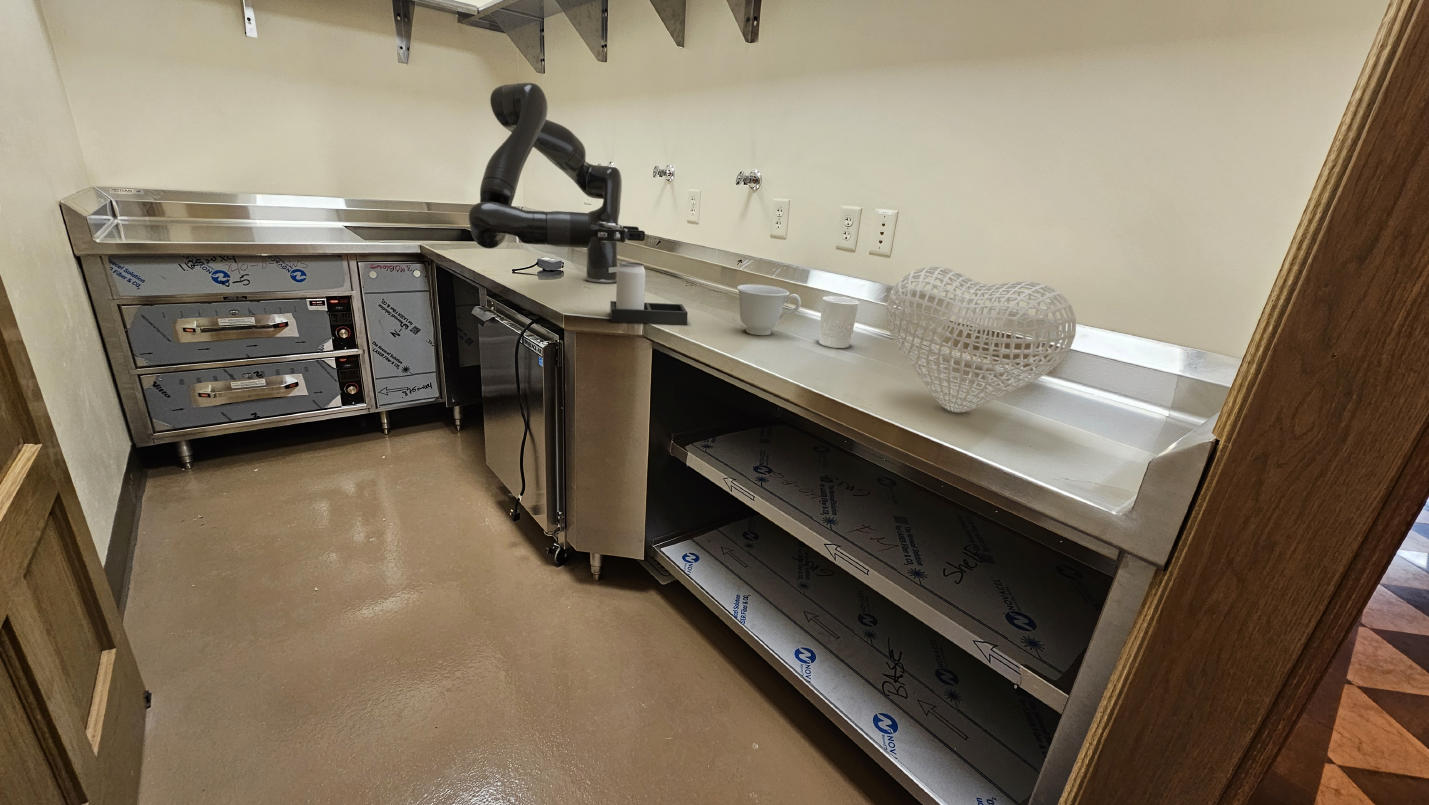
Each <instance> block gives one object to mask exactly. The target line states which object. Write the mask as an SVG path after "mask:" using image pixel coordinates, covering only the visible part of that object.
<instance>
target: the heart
mask: <svg viewBox="0 0 1429 805" xmlns="http://www.w3.org/2000/svg"><path fill="white" fill-rule="evenodd" d="M939 275H940V276H939ZM929 277H930V278H931V279H929V280H928V279H927V278H929ZM937 280H938V281H939V282H940V283H938V282H935V281H937ZM913 283H915V284H914V285H913ZM923 283H924V285H923ZM912 285H913V286H912ZM928 285H929V287H928V289H926V287H927V286H928ZM948 286H951V289H950V288H948ZM957 289H958V290H960V291H959V292H958V291H957ZM934 290H936V291H937V292H935V291H934ZM914 291H916V295H915V297H913V296H912V295H913V294H914ZM921 293H922V294H924V295H925V297H924V299H921V298H919V297H920V296H921ZM941 293H945V294H944V296H943V295H941ZM965 293H968V295H966V294H965ZM1015 294H1017V295H1015ZM1021 294H1022V295H1021ZM1038 294H1040V295H1038ZM952 295H953V297H952V298H953V299H950V297H951V296H952ZM973 295H974V296H973ZM929 297H933V298H934V300H933V302H929V301H928V299H929ZM960 299H961V300H960ZM938 300H942V301H943V303H942V305H941V306H938V305H937V303H938ZM959 300H960V302H959ZM979 301H981V302H979ZM986 301H989V303H987V304H985V303H986ZM1021 301H1022V302H1025V303H1026V305H1022V306H1021V305H1020V302H1021ZM910 302H913V305H912V307H910ZM995 302H996V303H995ZM1006 302H1007V304H1006ZM1010 302H1013V303H1012V304H1010ZM947 303H949V304H951V306H950V308H949V309H948V308H946V306H947ZM971 303H972V304H971ZM1041 303H1043V304H1044V305H1045V306H1046V307H1042V306H1040V305H1041ZM917 304H920V305H922V308H921V310H920V311H919V310H917ZM894 306H895V308H894ZM926 306H928V307H931V309H930V313H928V312H925V309H926ZM956 306H958V307H959V308H958V310H957V312H955V308H956ZM899 307H900V309H899ZM935 309H937V310H939V314H938V315H936V314H933V313H934V310H935ZM964 309H965V313H964V314H963V312H964ZM985 309H986V311H985ZM1029 309H1030V310H1035V314H1034V315H1033V314H1031V313H1030V312H1029ZM992 310H993V311H995V312H994V313H993V314H992ZM1012 310H1014V311H1015V316H1009V315H1010V313H1011V311H1012ZM1063 310H1064V312H1063ZM984 311H985V313H984ZM1001 311H1006V312H1005V313H1004V314H1003V315H1001ZM1019 311H1020V312H1019ZM899 313H900V314H899ZM905 313H906V317H905ZM943 313H946V314H947V316H946V318H942V316H943ZM1050 313H1051V314H1052V317H1053V318H1049V314H1050ZM1057 313H1059V317H1060V318H1058V317H1057ZM1064 313H1065V315H1064ZM917 314H918V318H917ZM971 314H972V315H971ZM1023 314H1025V315H1024V316H1022V315H1023ZM952 316H954V319H953V321H952V322H951V318H952ZM1065 316H1066V317H1065ZM912 318H913V320H912ZM925 318H927V320H925ZM960 319H962V320H961V321H960ZM885 320H886V324H887V329H888V331H889V334H890V335H891V338H892V340H893V341H894V343H895V345H896V347H897V348H898V350H899V351H900V353H901V354H902V355H903V357H904V358H905V360H906V361H907V362H908V363H909V365H910V366H911V367H912V369H913V370H914V372H915V373H916V374H917V376H918V377H919V378H920V380H921V382H923V384H924V385H925V387H926V388H927V390H928V391H929V392H930V394H931V395H932V396H933V398H934V399H935V400H936V401H937V403H938V404H940V405H941V407H943V409H945V410H947V411H949V412H952V413H965V412H969V411H972V410H974V409H977V408H980V407H982V406H984V405H986V404H988V403H990V402H992V401H994V400H996V399H998V398H1000V397H1003V396H1005V395H1007V394H1009V393H1012V392H1014V391H1016V390H1018V389H1021V388H1022V387H1025V386H1027V385H1029V384H1031V383H1032V382H1035V381H1037V380H1038V379H1040V378H1042V377H1043V376H1045V375H1047V374H1049V373H1050V371H1052V370H1053V369H1054V368H1055V367H1056V366H1058V365H1059V364H1060V363H1061V362H1062V360H1064V358H1065V357H1066V355H1067V354H1068V353H1069V352H1070V350H1071V348H1072V345H1073V343H1074V340H1075V337H1076V333H1077V318H1076V314H1075V311H1074V310H1073V307H1072V305H1071V303H1070V301H1069V300H1068V299H1067V298H1066V297H1065V296H1064V295H1063V294H1062V293H1061V292H1060V291H1059V290H1057V289H1055V288H1053V287H1051V286H1049V285H1047V284H1044V283H1040V282H1034V281H1011V282H1005V283H1004V282H1003V283H995V284H993V283H992V284H987V283H986V284H984V283H982V282H978V281H976V280H974V279H972V278H970V277H968V276H966V275H965V274H963V273H960V272H958V271H957V270H954V269H951V268H947V267H940V266H927V267H922V268H921V267H920V268H918V269H914V270H913V271H911V272H909V273H907V274H905V275H904V276H903V277H901V278H900V280H898V281H897V283H896V284H895V285H894V286H893V287H892V289H891V291H890V293H889V296H888V299H887V301H886V308H885ZM931 320H932V321H935V322H932V321H931ZM986 320H987V322H986ZM1038 320H1039V321H1040V320H1041V321H1043V326H1038ZM977 321H978V322H977ZM995 321H996V323H995ZM1000 321H1001V324H1000V326H999V322H1000ZM1009 321H1013V323H1012V326H1011V327H1008V324H1009ZM1029 321H1032V323H1033V327H1027V324H1028V322H1029ZM959 322H960V323H959ZM968 322H969V323H968ZM1018 322H1019V323H1023V327H1018ZM1050 322H1053V323H1051V324H1050ZM994 323H995V326H994ZM929 324H930V325H931V326H930V327H928V326H929ZM939 324H941V326H940V327H939ZM912 325H914V326H915V328H914V330H913V327H912ZM1004 325H1005V327H1004ZM948 327H949V328H948ZM897 328H898V329H897ZM920 328H921V329H922V330H921V329H920ZM933 328H934V329H933ZM943 328H944V329H943ZM952 328H953V331H952V334H951V333H950V332H951V330H952ZM903 331H904V332H903ZM960 331H962V333H961V337H960V336H957V335H958V334H959V332H960ZM978 331H979V333H978ZM993 331H994V334H993ZM998 331H999V333H998ZM1003 331H1004V334H1003ZM1039 331H1041V332H1042V333H1041V336H1040V338H1039V334H1040V332H1039ZM926 332H927V333H928V334H929V335H930V336H929V337H925V335H926ZM1008 332H1010V338H1007V334H1008ZM1017 332H1018V333H1023V334H1022V338H1017ZM1028 332H1032V335H1031V338H1027V333H1028ZM968 334H970V338H966V336H967V335H968ZM987 334H988V335H987ZM937 335H939V336H941V338H940V339H939V338H938V337H936V336H937ZM997 335H998V337H997ZM1045 335H1046V338H1045ZM910 336H912V338H911V337H910ZM977 336H978V337H979V338H976V337H977ZM1002 336H1003V337H1002ZM1054 336H1055V337H1054ZM946 338H949V339H950V340H949V341H948V343H946V342H944V339H946ZM919 339H920V340H919ZM955 340H957V341H960V342H959V343H958V345H957V346H954V342H955ZM923 343H926V345H928V347H924V346H923ZM964 343H967V344H969V345H968V347H967V348H964ZM985 343H988V345H985ZM1052 343H1053V345H1052V347H1050V345H1051V344H1052ZM995 344H998V347H996V346H995ZM1006 344H1009V348H1005V346H1006ZM1016 344H1021V349H1015V348H1016V347H1015V346H1016ZM1026 344H1030V348H1029V349H1025V347H1026ZM1038 344H1039V347H1038ZM1043 344H1044V346H1043ZM1058 345H1059V347H1057V346H1058ZM937 346H939V347H938V349H937V348H936V347H937ZM974 346H977V347H979V348H978V350H977V349H974ZM943 347H944V348H943ZM1037 347H1038V348H1037ZM942 348H943V350H942ZM983 348H987V349H988V350H983ZM1056 348H1057V349H1056ZM948 349H949V352H948V353H947V354H946V353H945V352H946V351H947V350H948ZM953 350H955V351H954V352H953ZM994 350H995V351H994ZM958 352H959V357H958V356H956V355H957V354H958ZM922 353H924V354H925V355H926V356H925V355H922ZM931 354H935V355H933V356H931ZM974 355H976V356H975V358H974ZM993 355H995V356H993ZM996 355H998V356H996ZM1004 355H1009V359H1008V358H1003V356H1004ZM1014 355H1019V358H1015V359H1014ZM1024 355H1028V357H1027V358H1026V359H1025V358H1024ZM968 356H970V358H968ZM1034 356H1035V357H1034ZM1045 356H1047V357H1046V358H1044V357H1045ZM943 358H948V362H945V361H943ZM979 358H980V360H979ZM984 358H987V359H986V361H984ZM955 360H956V361H959V365H956V364H954V362H955ZM994 360H996V361H994ZM1049 360H1050V361H1049ZM1048 361H1049V362H1048ZM935 363H936V365H935ZM965 363H970V368H968V367H964V366H965ZM1017 363H1019V364H1018V365H1017ZM930 364H931V365H930ZM1026 364H1028V365H1029V366H1026V367H1024V366H1025V365H1026ZM976 365H979V366H981V369H982V370H979V369H975V368H976ZM1006 365H1008V367H1007V366H1006ZM1000 366H1001V367H1002V368H1001V367H1000ZM1012 366H1013V367H1012ZM944 368H947V370H946V369H944ZM953 368H954V369H959V372H953ZM987 368H989V369H992V370H993V371H992V370H991V371H989V370H988V371H987ZM1031 369H1032V370H1031ZM931 370H933V372H934V373H932V372H931ZM964 371H967V372H969V374H968V375H965V374H964ZM976 374H979V376H978V377H976ZM1001 374H1003V375H1002V376H1001ZM994 376H996V377H994ZM982 377H984V379H982ZM953 378H958V379H957V380H955V379H953ZM935 379H936V381H935ZM963 379H964V380H966V382H963ZM942 381H943V382H942ZM946 381H947V382H946ZM970 381H971V382H970ZM969 382H970V383H969ZM978 384H980V385H982V386H981V387H980V386H977V385H978ZM998 384H999V385H998ZM962 388H963V389H962ZM986 388H987V389H986ZM966 389H967V390H966ZM953 390H954V391H953ZM952 397H954V398H952Z"/></svg>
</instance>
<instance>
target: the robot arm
mask: <svg viewBox="0 0 1429 805" xmlns="http://www.w3.org/2000/svg"><path fill="white" fill-rule="evenodd" d="M489 102H490V108H491V111H492V113H493V115H494V117H495V119H496V120H497V122H499V124H500V125H501V126H502V127H503V128H505V129H506V130H507V131H509V132H511V133H510V134H509V136H507V138H506V139H505V140H504V141H503V142H502V144H501V145H500V146H499V147H498V148H497V149H496V150H495V151H494V152H493V154H492V155H491V156H490V158H489V160H488V161H487V164H486V166H485V169H484V172H483V176H482V180H481V183H480V186H479V202H477V203H475V204H473V206H471V207H470V209H469V211H468V216H467V217H468V223H469V227H470V233H471V236H472V238H473V240H474V241H475V243H476V244H477V245H478V246H480V247H481V248H485V249H495V248H497V247H499V246H500V245H502V243H503V242H504V241H505V239H506V237H507V235H510V236H514V237H517V238H518V240H519V241H520V242H521V243H522V244H525V245H537V246H551V247H557V248H571V249H572V248H573V249H586V276H585V279H586V281H588V282H590V283H598V284H614V283H617V269H618V267H619V266H618V252H619V251H618V246H619V243H626V242H628V241H633V242H644V241H645V240H646V232H645V231H644V230H640V228H639V226H635V225H634V226H631V225H622V224H619V219H620V214H621V201H622V189H623V181H622V180H623V179H622V174H621V172H620V170H619V168H617V167H615V166H609V165H599V164H598V165H597V164H591V163H589V162H588V161H586V160H587V151H586V148H585V145H584V143H583V142H582V141H581V139H579V138H578V136H576V135H575V134H574V133H573V132H572V131H571V130H570V129H569V128H567V127H566V126H564V125H562V124H560V123H557V122H555V121H552V120H549V119H547V118H548V111H549V108H548V107H549V106H548V100H547V97H546V94H545V92H544V90H543V89H542V88H541V86H540V85H538V84H537V83H534V82H518V83H517V82H516V83H508V84H503V85H499V86H497V87H496V88H494V89H493V90H492V92H491V94H490V98H489ZM533 148H534V149H535V150H536V151H538V152H539V153H540V154H542V155H543V156H544V157H545V158H546V159H547V160H548V161H549V162H551V163H552V164H553V165H554V166H555V167H556V168H558V169H559V170H561V171H562V172H563V173H564V174H565V175H566V176H567V177H568V178H569V179H571V180H572V181H573V182H574V183H575V185H576V186H577V187H578V188H579V189H580V190H581V192H583V194H584V195H586V196H587V197H589V198H592V199H596V200H603V201H602V204H601V206H600V207H598V208H597V209H594V210H591V211H588V212H578V211H562V210H561V211H560V210H554V211H553V210H552V211H543V210H526V209H522V208H519V207H516V206H513V205H512V204H513V201H514V199H515V196H516V192H517V189H518V185H519V182H520V178H521V174H522V171H523V169H524V166H525V164H526V161H528V160H527V159H528V158H529V156H530V154H531V152H532V150H533Z"/></svg>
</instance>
